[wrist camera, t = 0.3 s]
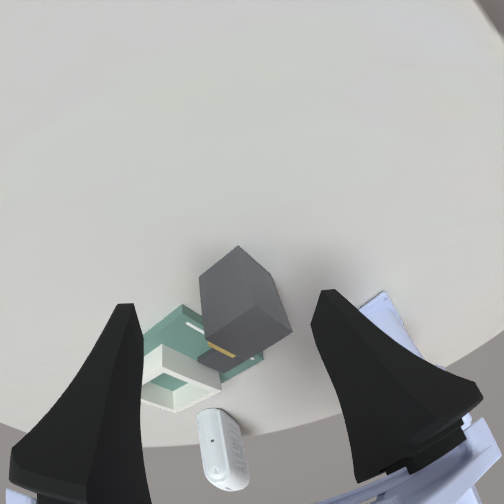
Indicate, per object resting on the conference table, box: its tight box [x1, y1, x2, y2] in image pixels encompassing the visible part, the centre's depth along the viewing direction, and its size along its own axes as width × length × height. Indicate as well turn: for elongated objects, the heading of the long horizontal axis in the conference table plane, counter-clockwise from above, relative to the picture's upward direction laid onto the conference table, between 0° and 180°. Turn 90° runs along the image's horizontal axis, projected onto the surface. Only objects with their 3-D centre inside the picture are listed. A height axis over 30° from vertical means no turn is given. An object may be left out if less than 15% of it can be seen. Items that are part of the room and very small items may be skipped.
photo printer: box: [197, 408, 250, 491], centre depth 34 cm, size 10×4×12 cm, turn 16°
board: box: [141, 305, 264, 413], centre depth 26 cm, size 11×12×4 cm
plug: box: [199, 245, 292, 360], centre depth 20 cm, size 4×4×6 cm
